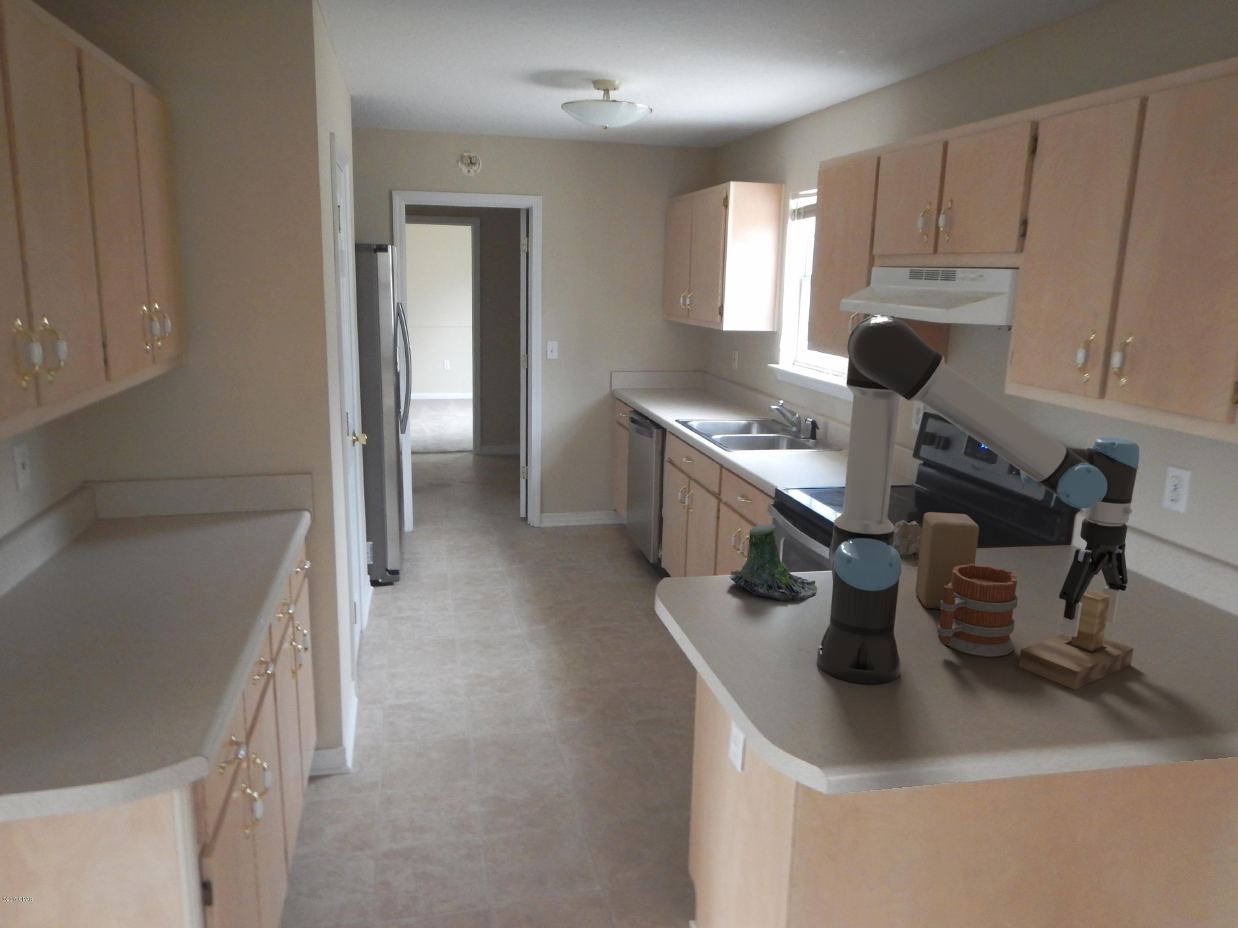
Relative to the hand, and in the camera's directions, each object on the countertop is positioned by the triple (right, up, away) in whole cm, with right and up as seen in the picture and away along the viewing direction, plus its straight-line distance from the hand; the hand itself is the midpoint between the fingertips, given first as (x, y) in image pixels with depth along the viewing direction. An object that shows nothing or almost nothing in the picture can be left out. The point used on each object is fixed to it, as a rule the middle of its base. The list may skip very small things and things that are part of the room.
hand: (1088, 627), depth 171 cm
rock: (-13, +7, +63) cm, 65 cm away
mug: (-20, -5, +8) cm, 22 cm away
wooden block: (-17, 0, +31) cm, 35 cm away
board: (-3, -7, 0) cm, 8 cm away
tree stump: (-54, +2, +37) cm, 65 cm away
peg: (0, -7, +1) cm, 7 cm away
